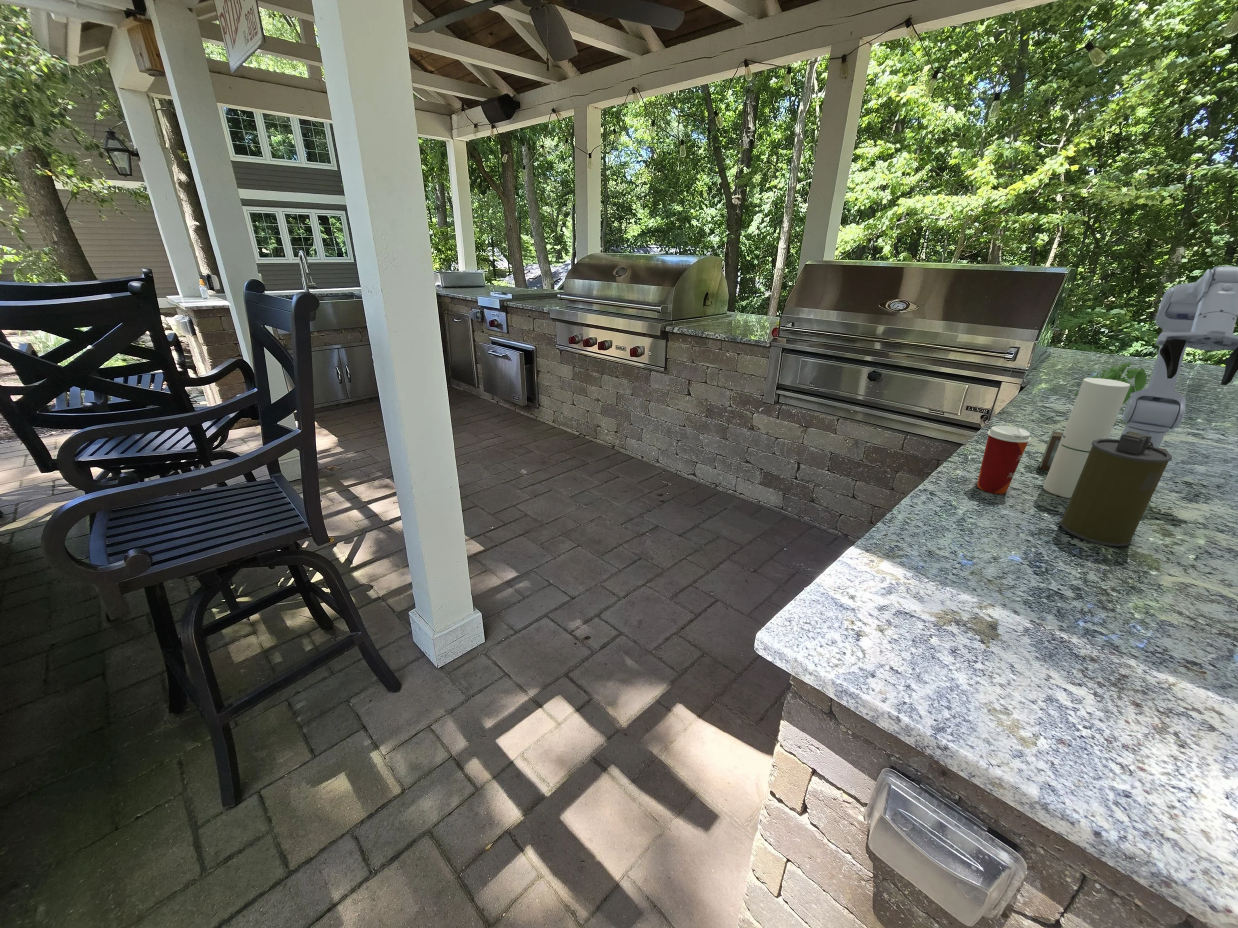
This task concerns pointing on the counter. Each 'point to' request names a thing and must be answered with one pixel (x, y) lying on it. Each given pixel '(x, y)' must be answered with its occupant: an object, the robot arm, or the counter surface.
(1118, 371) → the plant cuttings
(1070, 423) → the cylindrical container
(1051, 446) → the window frame
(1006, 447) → the paper cup
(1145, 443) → the canister
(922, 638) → the counter surface
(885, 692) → the counter surface
